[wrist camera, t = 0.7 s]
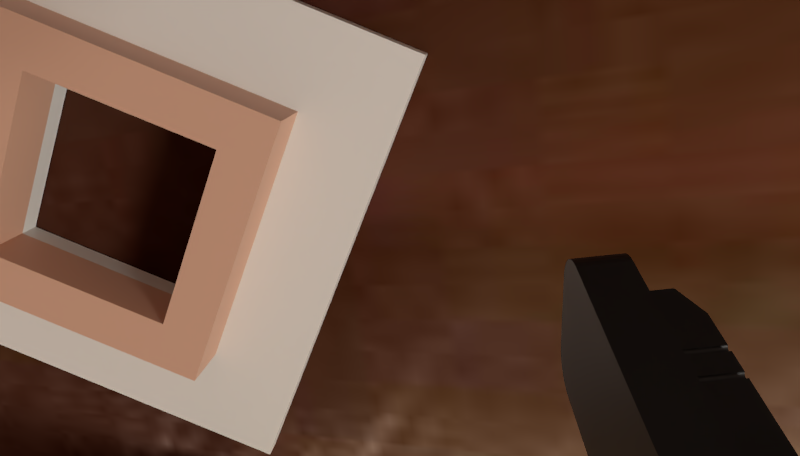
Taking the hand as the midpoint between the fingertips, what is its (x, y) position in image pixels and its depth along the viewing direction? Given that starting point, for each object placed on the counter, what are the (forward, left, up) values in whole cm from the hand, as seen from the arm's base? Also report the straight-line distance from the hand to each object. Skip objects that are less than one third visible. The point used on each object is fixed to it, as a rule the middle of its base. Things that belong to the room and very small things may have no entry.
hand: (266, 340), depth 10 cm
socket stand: (+8, -11, -21) cm, 25 cm away
